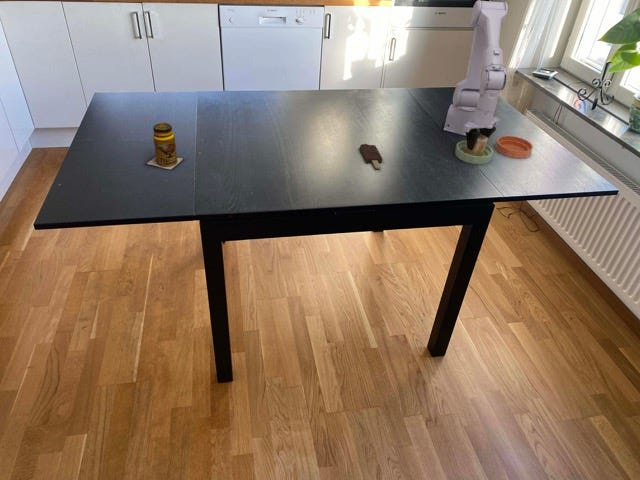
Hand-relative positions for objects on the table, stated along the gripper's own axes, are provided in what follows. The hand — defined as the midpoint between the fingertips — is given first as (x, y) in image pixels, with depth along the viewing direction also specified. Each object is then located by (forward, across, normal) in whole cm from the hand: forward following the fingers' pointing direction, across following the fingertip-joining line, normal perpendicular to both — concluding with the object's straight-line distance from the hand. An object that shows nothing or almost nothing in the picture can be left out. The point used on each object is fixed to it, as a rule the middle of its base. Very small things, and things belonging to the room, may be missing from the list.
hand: (475, 147), depth 168 cm
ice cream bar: (+4, -32, +14) cm, 35 cm away
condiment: (+4, -92, +41) cm, 100 cm away
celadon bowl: (+3, 0, 0) cm, 3 cm away
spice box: (+3, 0, 0) cm, 3 cm away
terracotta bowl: (+3, +16, -4) cm, 17 cm away
